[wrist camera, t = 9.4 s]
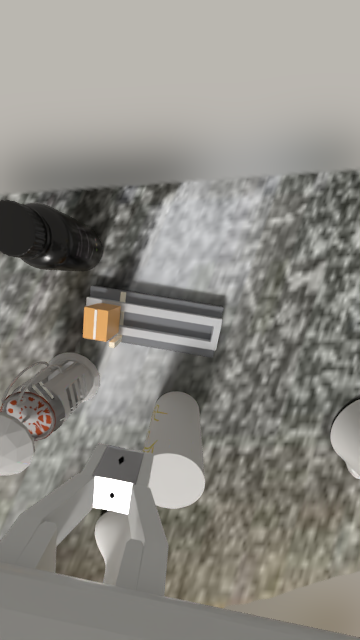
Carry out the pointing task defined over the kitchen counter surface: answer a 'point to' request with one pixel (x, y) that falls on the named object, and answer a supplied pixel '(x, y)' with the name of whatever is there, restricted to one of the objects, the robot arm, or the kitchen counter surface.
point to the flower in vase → (112, 542)
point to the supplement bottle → (47, 237)
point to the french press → (42, 407)
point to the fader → (101, 321)
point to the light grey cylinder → (175, 451)
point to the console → (162, 321)
